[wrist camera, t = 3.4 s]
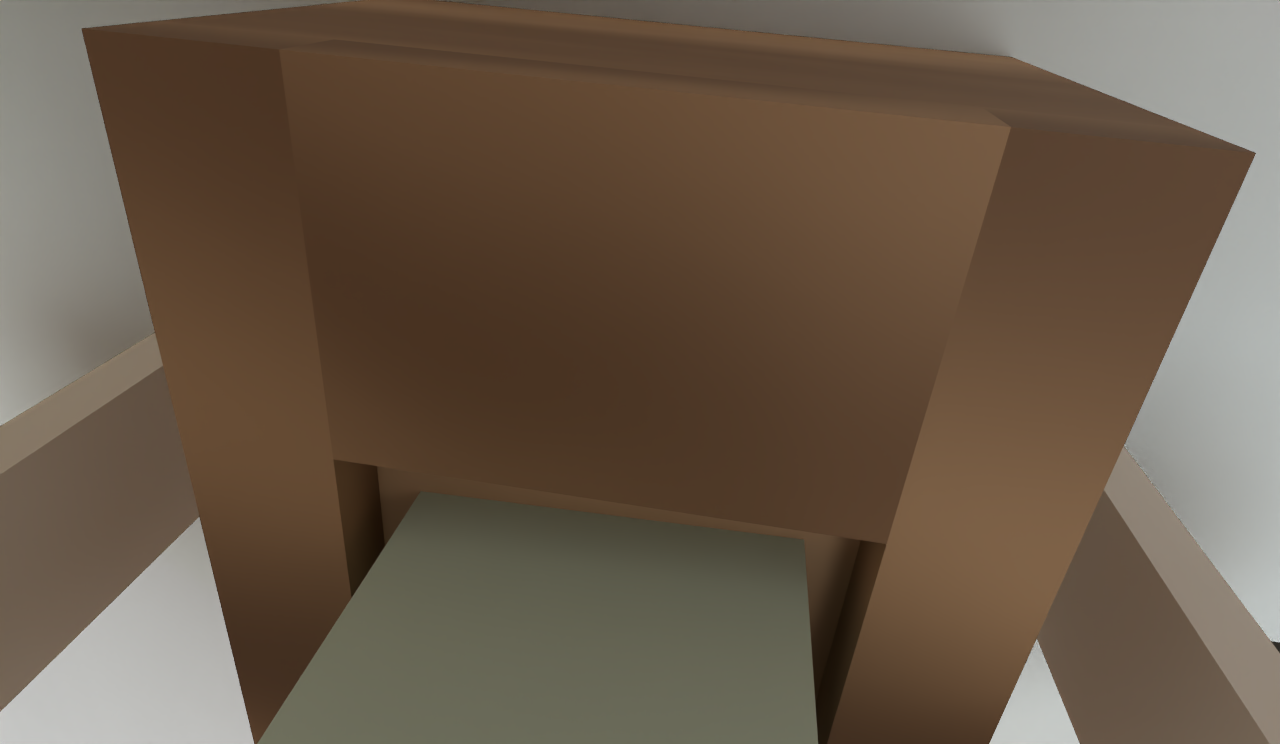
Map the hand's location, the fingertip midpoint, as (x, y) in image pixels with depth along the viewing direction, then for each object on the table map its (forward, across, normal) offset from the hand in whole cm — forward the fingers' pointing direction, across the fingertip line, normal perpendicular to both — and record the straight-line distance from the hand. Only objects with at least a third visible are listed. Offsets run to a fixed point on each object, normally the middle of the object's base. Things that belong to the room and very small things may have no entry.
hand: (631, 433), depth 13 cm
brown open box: (0, 0, 0) cm, 1 cm away
